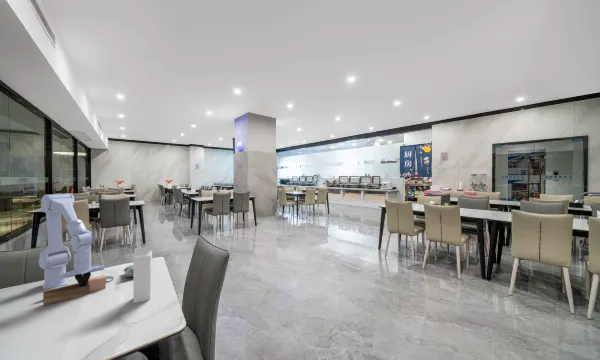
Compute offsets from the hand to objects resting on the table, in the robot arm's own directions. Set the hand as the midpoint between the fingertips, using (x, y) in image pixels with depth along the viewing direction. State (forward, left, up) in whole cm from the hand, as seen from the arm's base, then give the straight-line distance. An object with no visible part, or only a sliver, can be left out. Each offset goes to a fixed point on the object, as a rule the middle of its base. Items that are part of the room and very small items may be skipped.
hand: (82, 290), depth 107 cm
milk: (+26, +17, -1) cm, 31 cm away
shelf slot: (0, -5, -1) cm, 5 cm away
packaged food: (-9, +19, -3) cm, 21 cm away
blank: (0, +5, -1) cm, 5 cm away
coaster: (-9, +8, -1) cm, 12 cm away
